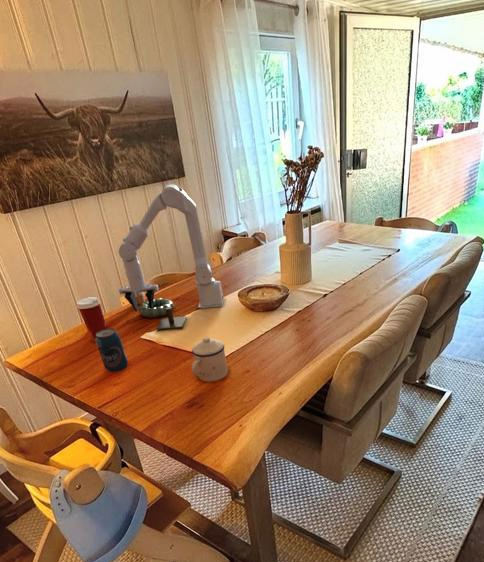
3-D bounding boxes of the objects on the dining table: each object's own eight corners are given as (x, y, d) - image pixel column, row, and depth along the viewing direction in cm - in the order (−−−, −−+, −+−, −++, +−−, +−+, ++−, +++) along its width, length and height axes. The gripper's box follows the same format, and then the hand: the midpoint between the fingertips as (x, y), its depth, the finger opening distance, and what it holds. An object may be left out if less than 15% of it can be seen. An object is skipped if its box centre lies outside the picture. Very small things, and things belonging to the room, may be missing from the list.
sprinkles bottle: (147, 302, 178) (138, 270, 170) (136, 305, 176) (127, 273, 168) (143, 299, 181) (134, 268, 173) (132, 302, 179) (123, 270, 172)
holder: (186, 318, 161) (183, 302, 157) (182, 329, 153) (178, 311, 149) (162, 320, 161) (158, 304, 157) (157, 331, 153) (153, 314, 150)
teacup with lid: (211, 364, 130) (204, 328, 124) (235, 370, 126) (229, 334, 119) (184, 383, 122) (175, 346, 115) (208, 390, 118) (200, 353, 111)
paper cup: (116, 334, 154) (104, 296, 146) (102, 344, 148) (88, 305, 140) (98, 332, 156) (85, 295, 148) (84, 342, 150) (69, 304, 142)
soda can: (106, 375, 129) (93, 339, 122) (105, 365, 134) (92, 330, 128) (130, 369, 131) (118, 333, 124) (127, 360, 136) (116, 325, 130)
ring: (177, 304, 174) (175, 295, 172) (171, 317, 163) (168, 308, 161) (144, 307, 174) (142, 298, 172) (136, 320, 163) (133, 311, 161)
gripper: (112, 280, 157) (123, 315, 164) (151, 277, 156) (160, 312, 164) (118, 274, 163) (128, 308, 170) (156, 271, 162) (164, 305, 170)
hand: (144, 309), depth 168 cm, fingers open, 5 cm apart
